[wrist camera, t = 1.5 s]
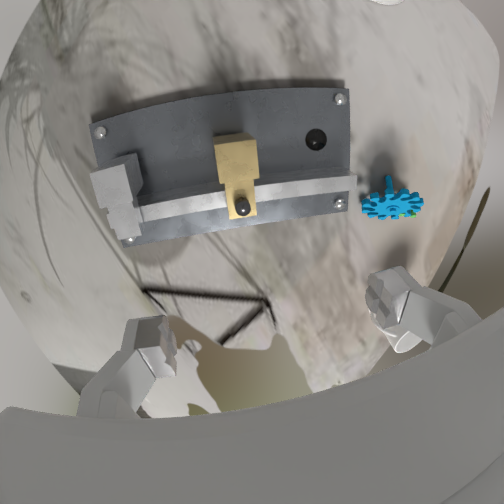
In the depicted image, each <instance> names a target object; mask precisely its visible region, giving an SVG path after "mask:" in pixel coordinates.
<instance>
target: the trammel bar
mask: <svg viewBox="0 0 504 504" xmlns="http://www.w3.org/2000/svg"><path fill="white" fill-rule="evenodd" d="M90 177H91V181H92V184H93V188H94V191H95V195H96V198H97V201H98V204H99V207H100V209H101V208H105V207H107V208H108V213H107V214H106V215H107V218H108V221H109V224H110V227H111V229H115V232H116V235H117V238H118V240H121V239H126V238H131V237H136V236H141V235H142V234H143V231H144V228H145V226H144V222H147V221H152V220H157V219H162V218H167V217H172V216H177V215H183V214H188V213H194V212H200V211H205V210H211V209H217V208H223V207H227V201H226V194H225V187H224V183H223V184H220V183H219V181H215V182H209V183H203V184H198V185H192V186H187V187H181V188H176V189H171V190H166V191H161V192H156V193H152V194H147V195H142V196H138V197H136V196H137V194H138V192H139V191H140V189H141V187H142V186H143V184H144V183H143V179H142V175H141V171H140V166H139V162H138V157H137V153H132V154H128V155H125V156H121V157H117V158H114V159H110V160H107V161H105V162H104V163H102V164H101V165H100V166H99V167H97V168H96V169H95V170H94V171H92V172H91V173H90ZM253 180H254V190H255V201H256V202H262V201H269V200H276V199H283V198H291V197H299V196H307V195H315V194H323V193H332V192H341V191H351V190H357V175H356V174H354V173H353V172H351V171H350V170H348V169H346V168H345V167H331V168H319V169H308V170H298V171H288V172H279V173H271V174H263V175H259V178H257V179H253Z"/></svg>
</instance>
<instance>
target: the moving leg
mask: <svg viewBox="0 0 504 504" xmlns="http://www.w3.org/2000/svg"><path fill="white" fill-rule="evenodd" d="M213 144H214V151H215V158H216V165H217V172H218V177H219V183H220V184H223V183H224V187H225V194H226V201H227V208H228V214H229V219H236V218H243V217H249V216H255V215H257V211H256V201H255V190H254V180H253V179H257V178H259V167H258V156H257V145H256V139H255V138H254V137H252V136H251V135H250V134H249V133H248V132H245V133H237V134H230V135H223V136H216V137H213Z"/></svg>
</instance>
